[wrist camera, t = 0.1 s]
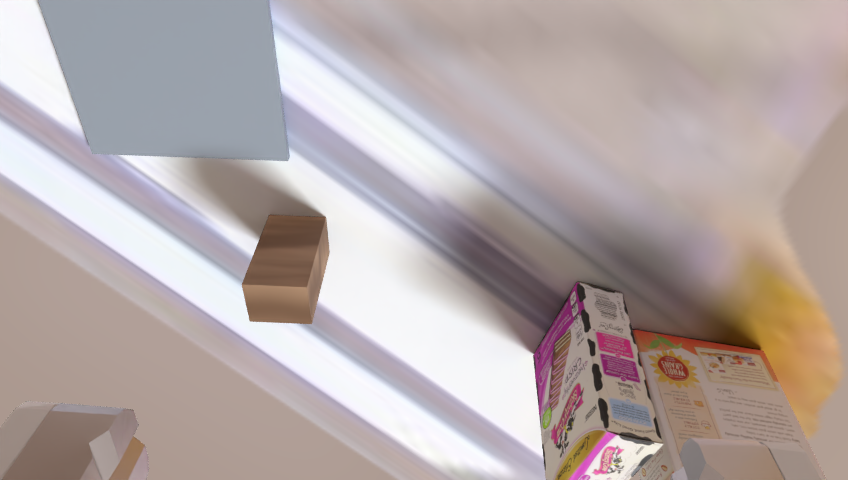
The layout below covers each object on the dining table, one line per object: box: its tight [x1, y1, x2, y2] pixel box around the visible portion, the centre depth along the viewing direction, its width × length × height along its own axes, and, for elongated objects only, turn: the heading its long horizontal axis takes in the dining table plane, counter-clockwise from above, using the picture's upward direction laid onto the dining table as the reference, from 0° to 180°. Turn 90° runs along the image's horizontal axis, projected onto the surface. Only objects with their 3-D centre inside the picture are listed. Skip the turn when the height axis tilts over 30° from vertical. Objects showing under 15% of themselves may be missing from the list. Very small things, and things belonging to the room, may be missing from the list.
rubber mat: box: [38, 0, 290, 161], centre depth 47 cm, size 16×16×1 cm
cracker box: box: [632, 330, 827, 480], centre depth 57 cm, size 14×6×21 cm, turn 79°
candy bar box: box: [533, 282, 663, 480], centre depth 56 cm, size 11×5×16 cm, turn 164°
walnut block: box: [242, 215, 329, 324], centre depth 53 cm, size 4×5×9 cm
